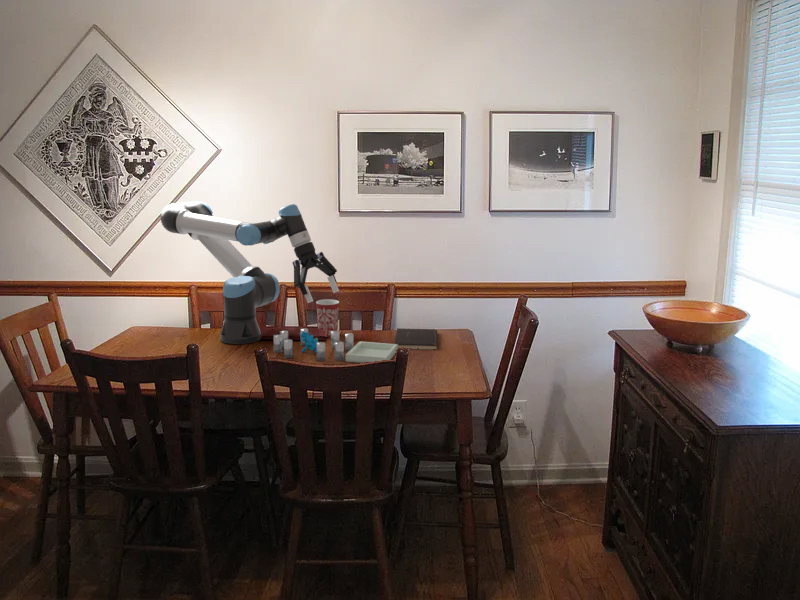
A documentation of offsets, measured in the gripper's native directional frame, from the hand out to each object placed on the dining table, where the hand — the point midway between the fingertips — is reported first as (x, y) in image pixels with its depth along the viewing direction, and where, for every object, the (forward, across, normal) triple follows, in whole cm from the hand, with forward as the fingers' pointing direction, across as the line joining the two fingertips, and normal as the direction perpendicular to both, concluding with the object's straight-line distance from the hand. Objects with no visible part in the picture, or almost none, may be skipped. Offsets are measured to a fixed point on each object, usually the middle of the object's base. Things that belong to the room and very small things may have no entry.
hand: (323, 297), depth 272 cm
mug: (+14, +5, +11) cm, 19 cm away
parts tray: (+26, -5, -19) cm, 33 cm away
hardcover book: (+29, +21, -16) cm, 39 cm away
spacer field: (+17, -16, -2) cm, 24 cm away
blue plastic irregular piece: (+17, -16, -2) cm, 24 cm away
